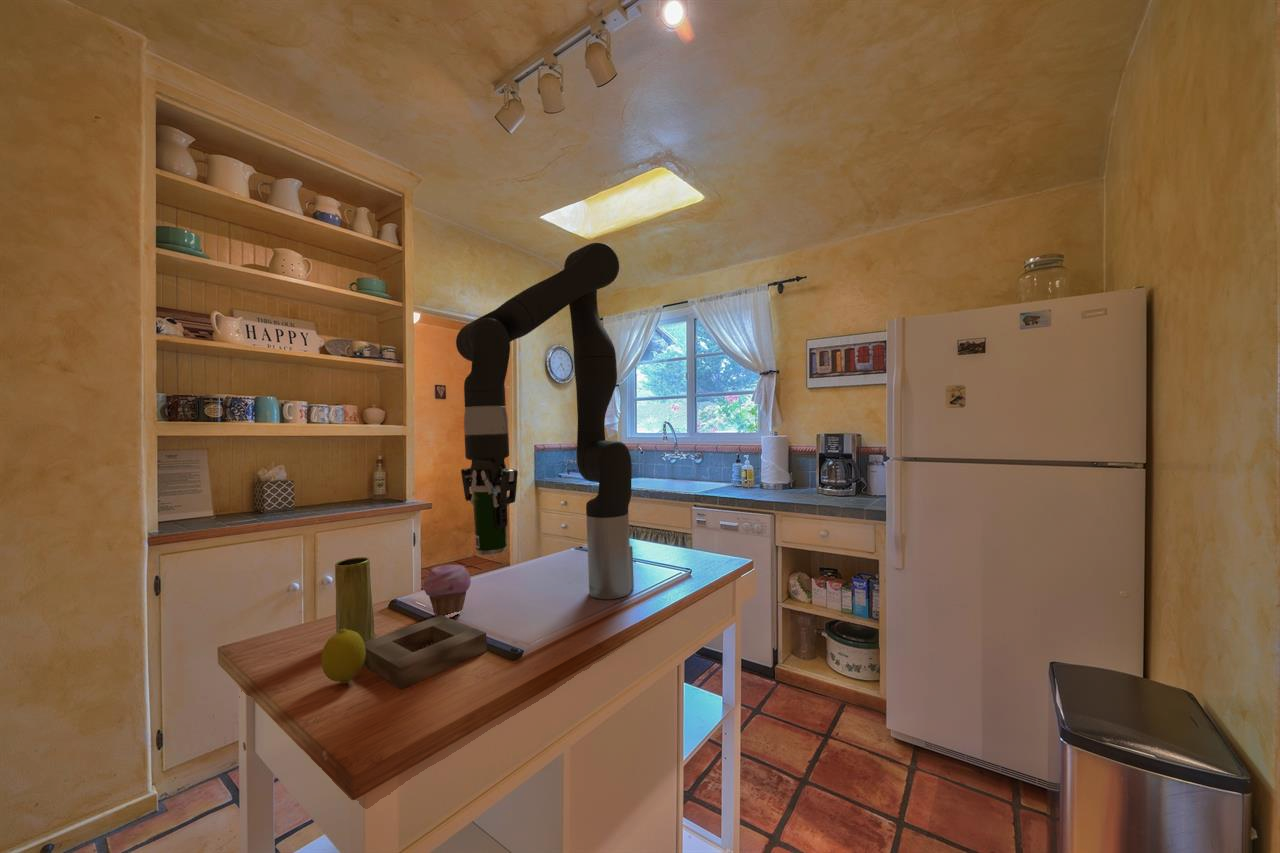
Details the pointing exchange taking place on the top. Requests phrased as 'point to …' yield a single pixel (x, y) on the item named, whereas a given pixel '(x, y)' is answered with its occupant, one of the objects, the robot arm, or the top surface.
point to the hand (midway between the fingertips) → (490, 525)
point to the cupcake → (447, 588)
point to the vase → (354, 597)
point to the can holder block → (423, 650)
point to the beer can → (487, 523)
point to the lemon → (343, 655)
